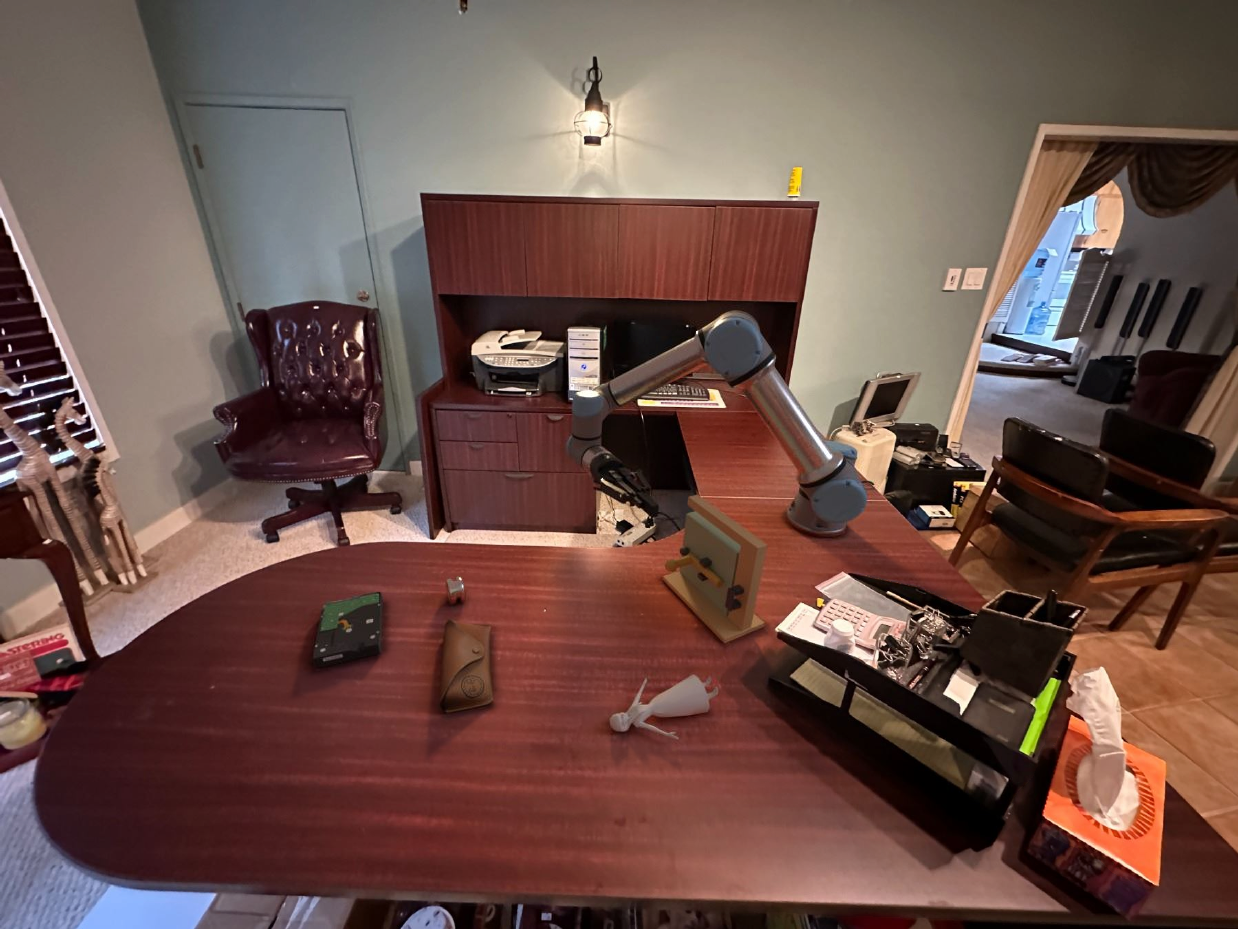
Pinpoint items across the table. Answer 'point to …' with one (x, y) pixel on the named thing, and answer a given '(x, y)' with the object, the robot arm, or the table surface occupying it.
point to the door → (720, 571)
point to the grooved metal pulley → (455, 589)
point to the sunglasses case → (465, 667)
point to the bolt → (690, 558)
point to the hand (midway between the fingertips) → (655, 511)
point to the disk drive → (349, 630)
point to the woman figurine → (667, 705)
